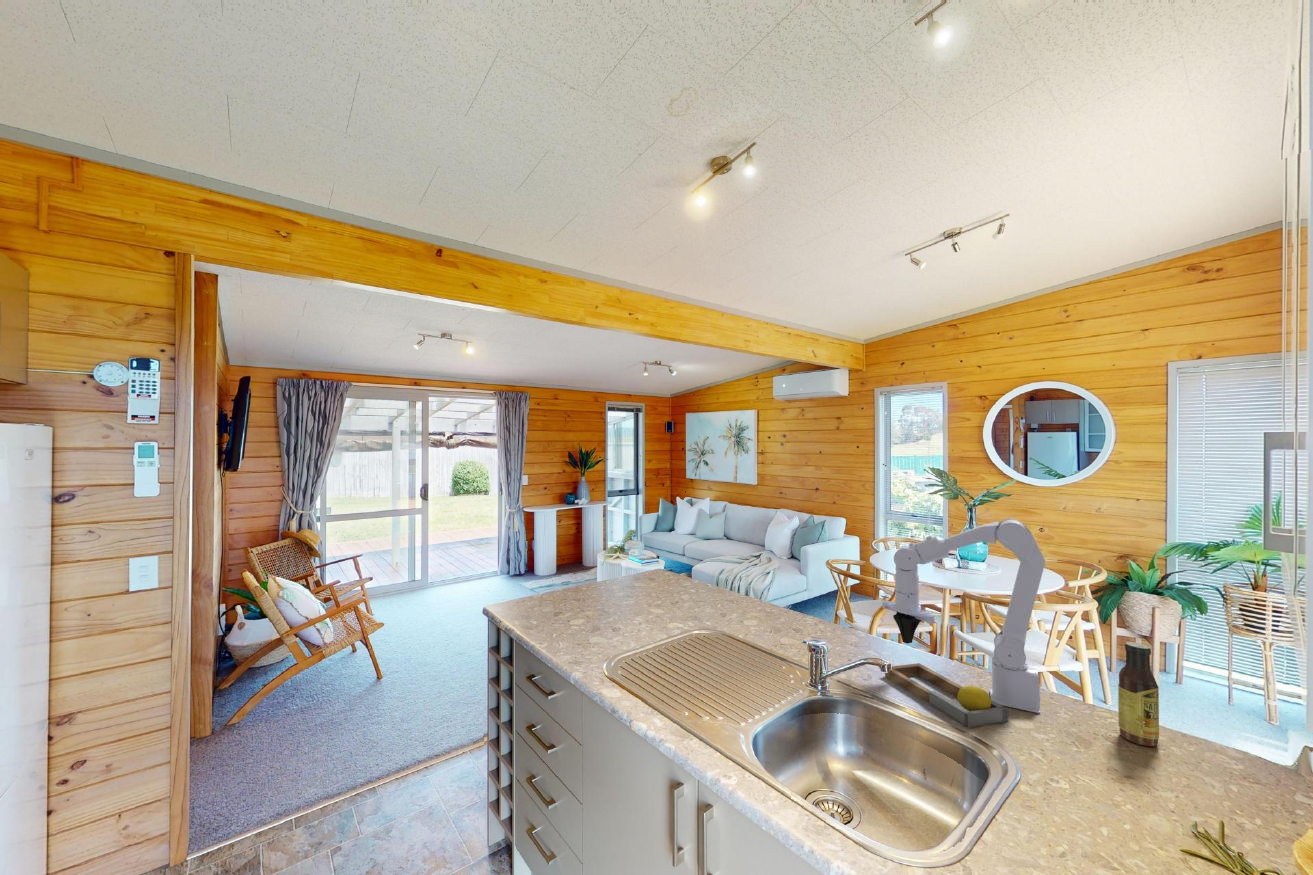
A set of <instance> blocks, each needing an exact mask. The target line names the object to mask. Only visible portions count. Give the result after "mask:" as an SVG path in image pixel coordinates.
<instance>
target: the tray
mask: <svg viewBox="0 0 1313 875" xmlns="http://www.w3.org/2000/svg"><path fill="white" fill-rule="evenodd" d="M963 687H964V686H962V687H961V688H963ZM929 705H930V706H932V707H933V708H935V709H937V710H938V711H940V712H941V713H943V715H946V716H948V717H949V718H951V719H952V720H955V721H956V722H957V723H958V724H960V725H962V726H963V727H965V728H967V729H973V728H979V727H984V726H985V725H986V726H990V725H991V726H992V725H998V724H997V723H999V724H1004V723H1008V721H1009V716H1008V712H1009V711H1008V710H1009V709H1008V708H1007V706H1003V705H1000V704H998V703H996V702H994V701H992V700H991V707H990V708H989V709H983V710H976V711H968V710H966V709H965V708H963V707H962V706H961V704H960V703H959V701H958V698H951V699H949V698H948V697H946V696H944V695H942V694H941V693H939V692H938V691H936V690H930V692H929Z"/></svg>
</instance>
